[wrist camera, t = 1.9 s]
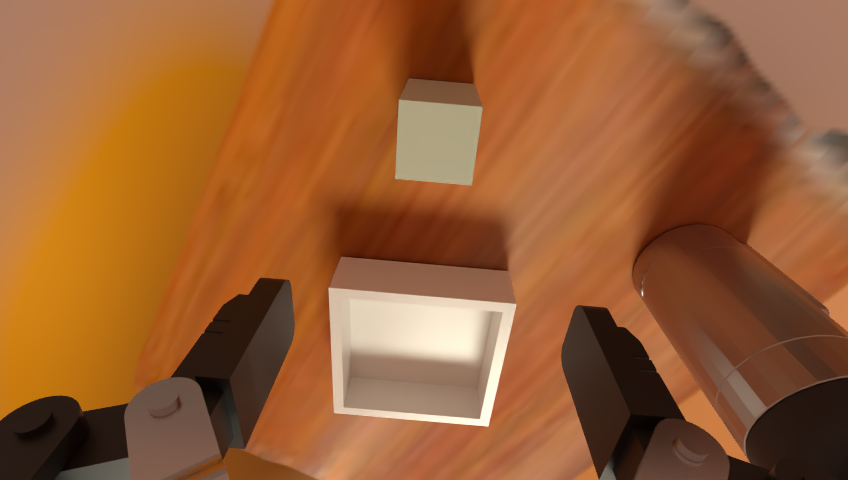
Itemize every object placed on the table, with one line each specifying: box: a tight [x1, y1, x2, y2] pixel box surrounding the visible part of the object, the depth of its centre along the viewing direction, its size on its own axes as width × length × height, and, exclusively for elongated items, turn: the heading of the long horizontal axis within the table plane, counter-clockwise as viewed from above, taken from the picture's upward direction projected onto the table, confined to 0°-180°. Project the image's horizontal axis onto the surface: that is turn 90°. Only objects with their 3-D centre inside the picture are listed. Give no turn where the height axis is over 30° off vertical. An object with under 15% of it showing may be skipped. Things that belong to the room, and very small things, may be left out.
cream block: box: [395, 78, 483, 185], centre depth 30 cm, size 5×5×8 cm
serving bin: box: [329, 257, 517, 426], centre depth 42 cm, size 16×16×5 cm
